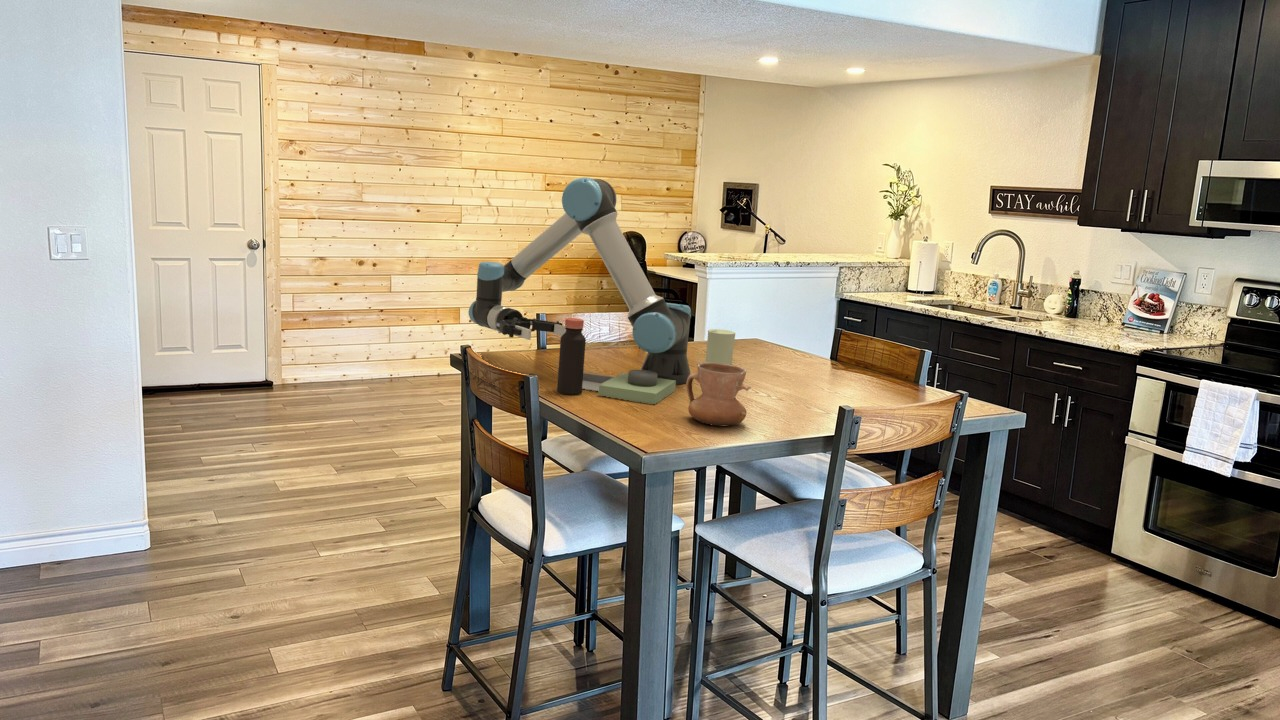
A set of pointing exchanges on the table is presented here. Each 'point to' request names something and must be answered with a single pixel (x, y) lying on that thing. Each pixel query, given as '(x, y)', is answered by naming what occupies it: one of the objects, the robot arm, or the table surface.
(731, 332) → the can
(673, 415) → the table surface
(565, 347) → the vinegar
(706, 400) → the ceramic jug
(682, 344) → the robot arm
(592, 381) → the green slab with knob
